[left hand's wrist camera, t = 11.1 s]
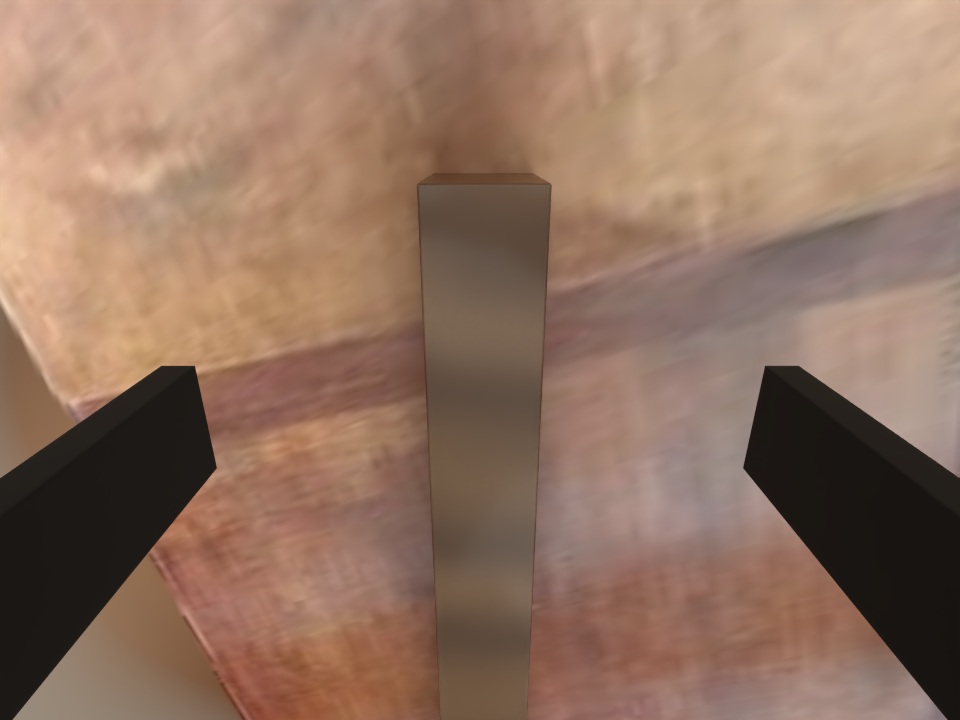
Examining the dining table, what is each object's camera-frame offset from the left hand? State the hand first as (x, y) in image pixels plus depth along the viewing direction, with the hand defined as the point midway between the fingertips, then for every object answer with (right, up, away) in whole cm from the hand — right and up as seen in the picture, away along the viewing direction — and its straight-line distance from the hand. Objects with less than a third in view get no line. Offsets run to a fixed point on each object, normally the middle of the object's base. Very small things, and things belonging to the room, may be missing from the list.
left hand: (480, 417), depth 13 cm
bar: (0, -22, +30) cm, 37 cm away
